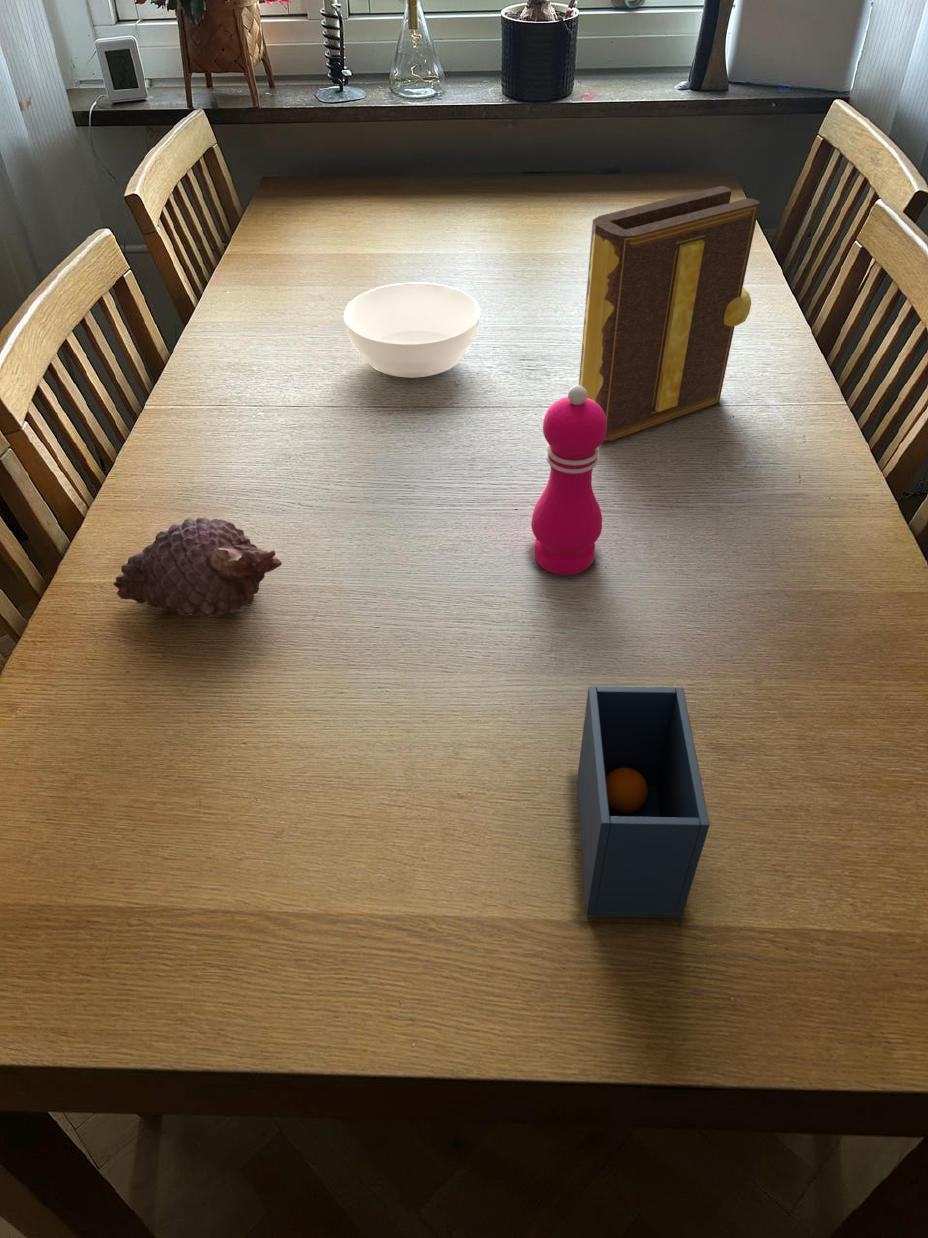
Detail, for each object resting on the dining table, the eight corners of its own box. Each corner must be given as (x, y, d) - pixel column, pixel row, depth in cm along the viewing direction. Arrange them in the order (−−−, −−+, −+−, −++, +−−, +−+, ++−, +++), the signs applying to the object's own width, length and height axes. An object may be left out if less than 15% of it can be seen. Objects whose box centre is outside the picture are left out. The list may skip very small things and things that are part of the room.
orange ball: (654, 808, 74) (658, 770, 73) (630, 829, 72) (633, 790, 70) (616, 790, 77) (619, 753, 75) (591, 810, 74) (594, 772, 73)
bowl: (327, 384, 124) (321, 333, 119) (376, 323, 137) (372, 275, 132) (458, 404, 120) (457, 352, 115) (496, 339, 133) (496, 290, 128)
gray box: (661, 784, 77) (683, 686, 68) (681, 918, 68) (710, 825, 60) (576, 782, 77) (588, 685, 69) (586, 916, 68) (601, 823, 60)
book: (604, 449, 112) (628, 242, 95) (564, 417, 118) (579, 215, 100) (742, 400, 120) (786, 200, 103) (698, 372, 126) (734, 177, 108)
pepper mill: (583, 529, 101) (600, 362, 87) (608, 571, 96) (631, 400, 82) (520, 541, 100) (527, 373, 86) (542, 584, 95) (554, 412, 81)
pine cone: (107, 646, 89) (75, 545, 87) (158, 620, 98) (130, 529, 96) (276, 614, 85) (247, 507, 83) (312, 591, 94) (287, 494, 92)
